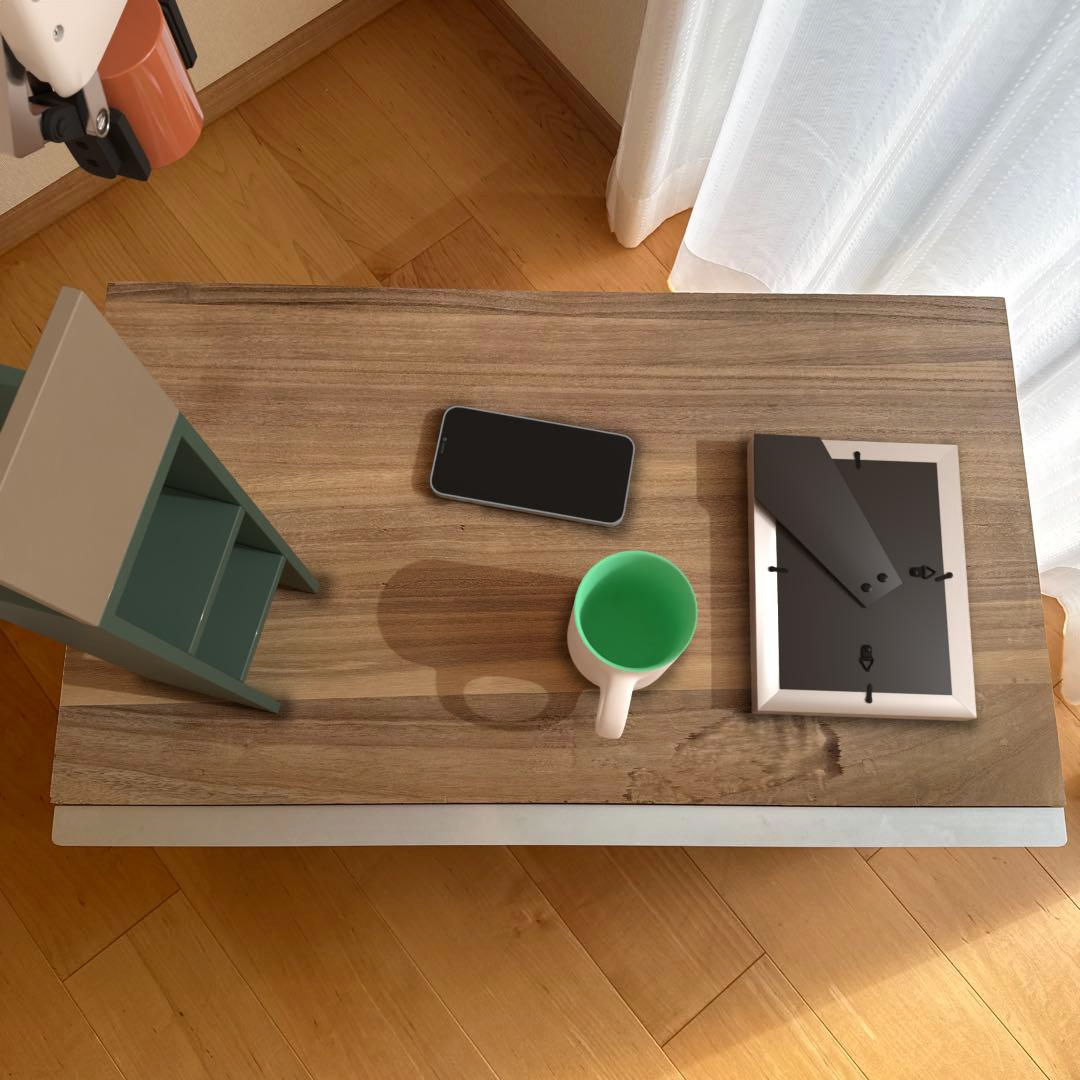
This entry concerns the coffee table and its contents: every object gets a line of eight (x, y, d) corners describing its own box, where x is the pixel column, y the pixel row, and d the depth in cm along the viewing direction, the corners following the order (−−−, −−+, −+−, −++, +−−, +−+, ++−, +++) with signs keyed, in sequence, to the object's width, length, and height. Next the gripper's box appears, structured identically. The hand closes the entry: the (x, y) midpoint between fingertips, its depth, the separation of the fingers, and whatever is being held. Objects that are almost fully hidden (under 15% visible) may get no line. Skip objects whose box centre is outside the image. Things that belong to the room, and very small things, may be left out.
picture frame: (746, 446, 85) (751, 713, 80) (754, 433, 82) (759, 709, 77) (947, 453, 85) (965, 721, 80) (961, 441, 82) (981, 717, 77)
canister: (71, 155, 47) (11, 61, 41) (112, 61, 49) (59, -43, 43) (181, 183, 47) (136, 92, 41) (219, 87, 48) (180, -14, 43)
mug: (662, 753, 79) (684, 742, 69) (552, 737, 79) (557, 723, 69) (680, 592, 82) (703, 559, 72) (575, 577, 82) (582, 542, 72)
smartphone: (622, 527, 82) (427, 492, 82) (621, 530, 83) (427, 496, 83) (637, 436, 84) (446, 402, 84) (635, 440, 85) (446, 407, 85)
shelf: (147, 678, 79) (-324, 486, 35) (193, 550, 82) (-191, 219, 38) (277, 713, 79) (-31, 565, 35) (320, 584, 82) (83, 289, 37)
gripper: (-82, -554, 32) (125, -63, 50) (-349, -100, 28) (-18, 262, 45) (162, -499, 32) (284, -25, 49) (-68, -32, 27) (155, 305, 45)
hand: (138, 109), depth 47 cm, fingers closed on canister, 5 cm apart
